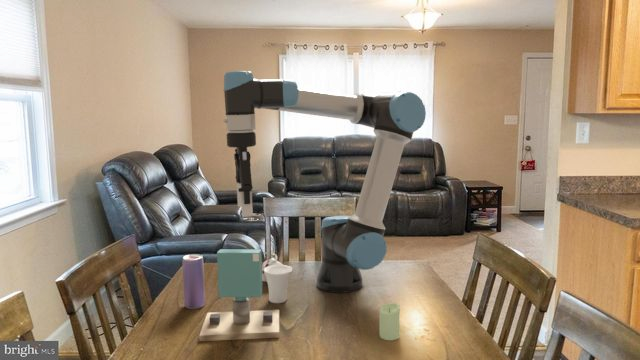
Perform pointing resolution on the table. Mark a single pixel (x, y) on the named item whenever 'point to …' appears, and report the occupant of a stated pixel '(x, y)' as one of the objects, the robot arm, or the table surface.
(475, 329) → the table surface
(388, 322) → the candle
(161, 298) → the table surface
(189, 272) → the beverage can
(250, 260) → the teal rectangular panel
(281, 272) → the cup
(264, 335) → the post base
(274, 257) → the white ceramic figurine
